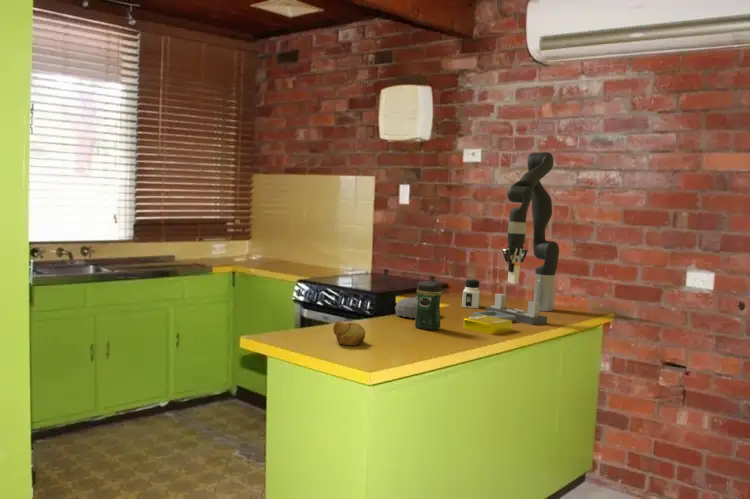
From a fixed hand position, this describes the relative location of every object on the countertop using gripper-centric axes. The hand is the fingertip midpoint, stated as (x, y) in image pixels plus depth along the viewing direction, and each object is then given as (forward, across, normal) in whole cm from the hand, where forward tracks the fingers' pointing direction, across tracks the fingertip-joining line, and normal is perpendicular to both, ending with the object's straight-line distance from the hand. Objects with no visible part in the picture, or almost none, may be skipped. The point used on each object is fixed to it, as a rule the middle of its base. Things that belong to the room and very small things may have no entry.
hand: (513, 271), depth 301 cm
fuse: (+21, -4, +10) cm, 23 cm away
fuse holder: (+21, -4, 0) cm, 21 cm away
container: (+21, -5, -30) cm, 37 cm away
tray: (+21, +9, 0) cm, 23 cm away
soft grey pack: (+22, +38, -20) cm, 48 cm away
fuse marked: (+5, 0, 0) cm, 5 cm away
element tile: (+22, +27, +14) cm, 37 cm away
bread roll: (+23, +92, +15) cm, 96 cm away
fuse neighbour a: (+21, -4, -10) cm, 23 cm away
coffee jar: (+22, +49, +4) cm, 54 cm away
